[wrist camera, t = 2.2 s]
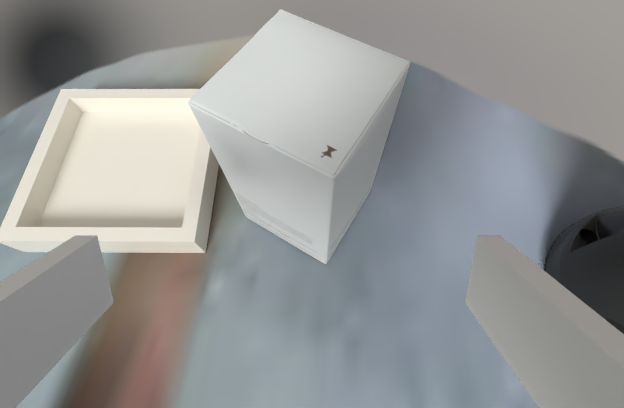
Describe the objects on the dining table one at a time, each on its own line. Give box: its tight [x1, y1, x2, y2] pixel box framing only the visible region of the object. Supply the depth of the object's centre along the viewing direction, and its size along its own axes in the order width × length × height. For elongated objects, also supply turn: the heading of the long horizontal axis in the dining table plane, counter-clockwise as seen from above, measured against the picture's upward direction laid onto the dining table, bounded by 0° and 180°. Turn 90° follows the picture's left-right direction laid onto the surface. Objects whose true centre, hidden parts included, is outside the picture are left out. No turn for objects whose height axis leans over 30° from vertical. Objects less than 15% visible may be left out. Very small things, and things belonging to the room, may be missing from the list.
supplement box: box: [188, 10, 411, 264], centre depth 24 cm, size 9×9×15 cm
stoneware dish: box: [0, 89, 219, 253], centre depth 31 cm, size 16×16×3 cm
